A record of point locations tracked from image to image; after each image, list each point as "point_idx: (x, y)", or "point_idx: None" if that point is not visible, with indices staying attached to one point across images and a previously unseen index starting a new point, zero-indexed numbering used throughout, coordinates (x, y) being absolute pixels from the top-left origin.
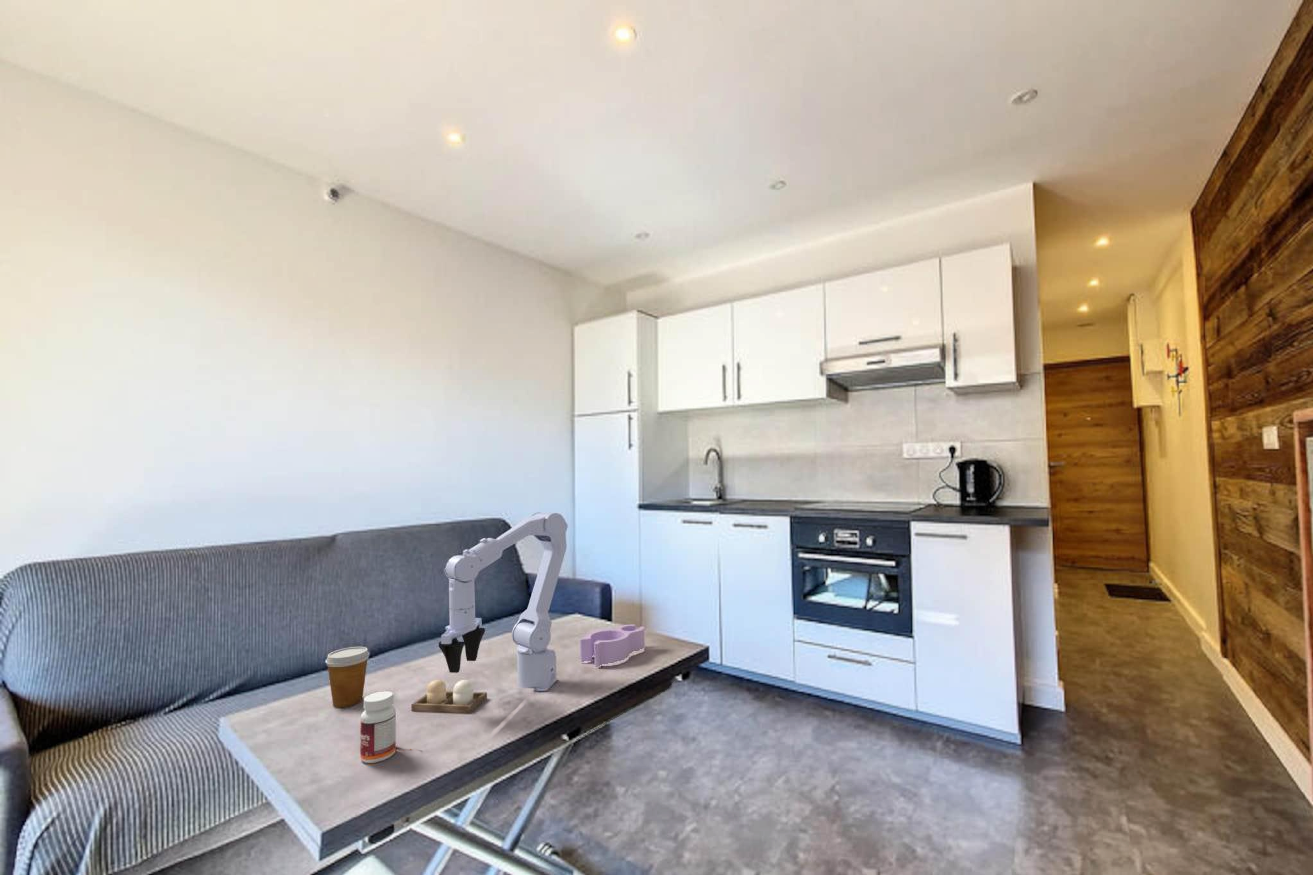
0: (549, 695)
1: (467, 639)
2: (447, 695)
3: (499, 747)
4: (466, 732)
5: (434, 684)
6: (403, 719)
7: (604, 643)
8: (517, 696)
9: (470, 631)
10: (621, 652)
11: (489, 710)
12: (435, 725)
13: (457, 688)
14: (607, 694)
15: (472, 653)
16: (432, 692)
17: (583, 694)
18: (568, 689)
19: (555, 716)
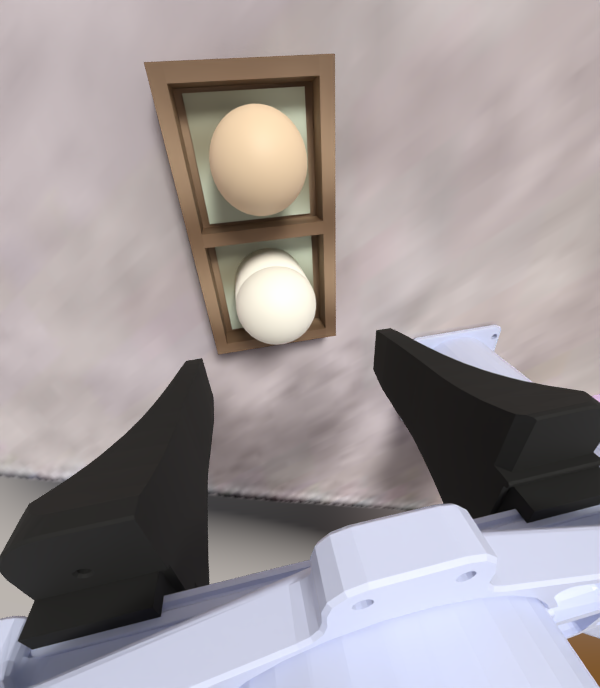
0: (377, 432)
1: (451, 420)
2: (318, 172)
3: None
4: (131, 388)
5: (229, 179)
6: (93, 69)
7: None
8: (370, 374)
9: (491, 500)
10: None
11: (273, 361)
12: (121, 272)
13: (242, 313)
14: (382, 505)
15: (392, 384)
16: (212, 176)
17: (383, 478)
18: (410, 446)
19: (275, 489)
